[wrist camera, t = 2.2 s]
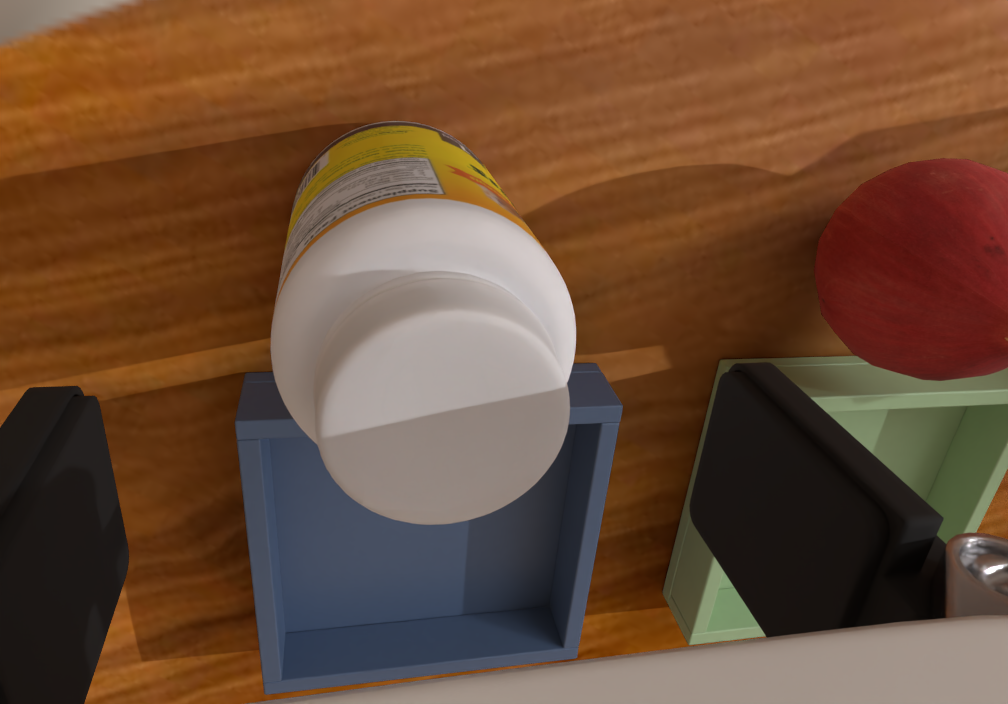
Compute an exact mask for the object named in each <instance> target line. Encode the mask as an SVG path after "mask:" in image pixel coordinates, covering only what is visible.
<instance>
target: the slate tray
mask: <svg viewBox="0 0 1008 704" xmlns="http://www.w3.org/2000/svg"><path fill="white" fill-rule="evenodd" d="M567 386H568V391H569V398H570V417H569V424H568V429H567V433H566V436H565V439H564V442H563V444H562V447H561V449H560V451H559V453H558V455H557V457H556V459H555V460H554V462H553V463H552V464H551V466H550V467H549V469H548V470H547V471H546V473H545V474H544V475H543V476H542V477H541V478H540V480H539V481H538V482H537V483H536V484H535V485H534V486H532V487H531V488H530V489H529V490H528V491H527V492H525V493H524V494H523V495H521V496H520V497H518V498H517V499H516V500H514V501H512V502H511V503H509V504H507V505H506V506H504V507H502V508H500V509H498V510H496V511H494V512H492V513H489V514H487V515H484V516H481V517H477V518H474V519H471V520H467V521H462V522H456V523H451V524H435V525H423V524H413V523H408V522H403V521H398V520H393V519H390V518H388V517H385V516H382V515H379V514H377V513H375V512H372V511H371V510H369V509H367V508H366V507H364V506H362V505H361V504H359V503H358V502H356V501H354V500H353V499H352V498H351V497H350V496H348V495H347V494H346V493H345V492H344V491H343V490H342V489H341V487H340V486H339V485H338V484H337V483H336V482H335V481H334V479H333V478H332V477H331V475H330V473H329V471H328V470H327V469H326V467H325V464H324V461H323V460H322V458H321V455H320V451H319V448H318V445H317V444H316V443H315V442H314V441H313V440H312V439H311V438H310V437H309V436H308V435H307V434H306V433H305V432H304V431H303V430H302V429H301V428H300V427H299V425H298V424H297V423H296V421H295V420H294V419H293V417H292V416H291V414H290V413H289V411H288V409H287V407H286V406H285V404H284V402H283V400H282V397H281V395H280V393H279V390H278V387H277V384H276V381H275V377H274V373H273V372H258V373H246V374H245V376H244V381H243V385H242V390H241V395H240V399H239V404H238V409H237V414H236V418H235V430H236V438H237V448H238V457H239V467H240V476H241V485H242V494H243V503H244V513H245V522H246V531H247V540H248V549H249V558H250V568H251V577H252V586H253V595H254V604H255V614H256V623H257V632H258V641H259V650H260V660H261V669H262V678H263V686H264V693H265V694H266V695H267V694H276V693H284V692H293V691H301V690H310V689H318V688H327V687H335V686H344V685H353V684H361V683H370V682H378V681H387V680H395V679H404V678H412V677H421V676H429V675H438V674H447V673H455V672H464V671H472V670H481V669H489V668H498V667H506V666H515V665H524V664H532V663H541V662H549V661H558V660H566V659H575V658H577V653H578V646H579V642H580V636H581V631H582V625H583V620H584V615H585V609H586V604H587V598H588V593H589V587H590V582H591V576H592V571H593V565H594V560H595V554H596V549H597V543H598V538H599V533H600V527H601V522H602V516H603V511H604V505H605V500H606V494H607V489H608V483H609V478H610V472H611V467H612V462H613V456H614V451H615V445H616V440H617V434H618V429H619V422H620V420H621V414H622V409H623V405H622V403H621V402H620V400H619V399H618V397H617V395H616V394H615V392H614V391H613V389H612V388H611V386H610V384H609V383H608V381H607V380H606V378H605V376H604V375H603V373H602V372H601V370H600V369H599V367H598V366H597V364H596V363H579V364H573V366H572V370H571V373H570V376H569V380H568V382H567Z"/></svg>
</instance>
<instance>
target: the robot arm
mask: <svg viewBox="0 0 1008 704" xmlns="http://www.w3.org/2000/svg"><path fill="white" fill-rule="evenodd" d="M689 507H690V517H691V520H692V523H693V525H694V526H695V528H696V529H697V531H698V533H699V534H700V536H701V537H702V539H703V540H704V542H705V543H706V545H707V546H708V548H709V549H710V551H711V552H712V554H713V556H714V557H715V559H716V560H717V562H718V563H719V565H720V566H721V568H722V569H723V571H724V572H725V574H726V576H727V577H728V579H729V580H730V582H731V583H732V585H733V586H734V588H735V589H736V591H737V592H738V594H739V595H740V597H741V599H742V600H743V602H744V603H745V605H746V606H747V608H748V609H749V611H750V612H751V614H752V615H753V617H754V619H755V620H756V622H757V623H758V625H759V626H760V628H761V629H762V631H763V632H764V634H765V635H766V637H767V638H759V639H750V640H742V641H734V642H725V643H717V644H709V645H700V646H692V647H684V648H675V649H667V650H659V651H651V652H643V653H635V654H627V655H619V656H611V657H603V658H595V659H587V660H579V661H571V662H563V663H555V664H547V665H539V666H531V667H523V668H515V669H507V670H500V671H492V672H484V673H476V674H468V675H460V676H452V677H444V678H437V679H429V680H421V681H414V682H406V683H399V684H391V685H384V686H376V687H368V688H361V689H353V690H346V691H338V692H330V693H323V694H315V695H308V696H300V697H292V698H285V699H277V700H270V701H262V702H255V703H247V704H1008V540H1007V539H1005V538H1001V537H997V536H993V535H989V534H984V533H970V532H969V533H963V534H958V535H955V536H954V537H953V538H951V539H950V540H948V542H947V544H946V543H945V542H944V541H943V540H941V539H940V538H939V537H938V536H937V533H938V531H939V528H940V526H941V524H942V522H943V519H944V518H943V517H942V516H941V515H940V514H939V513H938V512H937V511H936V510H934V509H933V508H932V507H931V506H930V505H929V504H928V503H927V502H926V501H924V500H923V499H922V498H921V497H920V496H919V495H918V494H917V493H916V492H914V491H913V490H912V489H911V488H910V487H909V486H908V485H907V484H906V483H904V482H903V481H902V480H901V479H900V478H899V477H898V476H897V475H896V474H894V473H893V472H892V471H891V470H890V469H889V468H888V467H887V466H886V465H884V464H883V463H882V462H881V461H880V460H879V459H878V458H877V457H876V456H874V455H873V454H872V453H871V452H870V451H869V450H868V449H867V448H866V447H864V446H863V445H862V444H861V443H860V442H859V441H858V440H857V439H856V438H855V437H853V436H852V435H851V434H850V433H849V432H848V431H847V430H846V429H845V428H843V427H842V426H841V425H840V424H839V423H838V422H837V421H836V420H835V419H833V418H832V417H831V416H830V415H829V414H828V413H827V412H826V411H825V410H823V409H822V408H821V407H820V406H819V405H818V404H817V403H816V402H815V401H813V400H812V399H811V398H810V397H809V396H808V395H807V394H806V393H805V392H803V391H802V390H801V389H800V388H799V387H798V386H797V385H796V384H795V383H793V382H792V381H791V380H790V379H789V378H788V377H787V376H786V375H785V374H783V373H782V372H781V371H780V370H779V369H778V368H777V367H776V366H775V365H773V364H771V363H770V362H760V363H736V364H734V365H732V367H731V368H730V369H729V372H725V373H724V374H722V376H721V377H720V380H719V383H718V387H717V391H716V395H715V399H714V404H713V408H712V412H711V416H710V420H709V424H708V429H707V433H706V437H705V441H704V445H703V449H702V453H701V458H700V462H699V466H698V470H697V474H696V478H695V483H694V487H693V491H692V495H691V499H690V505H689ZM128 563H129V550H128V543H127V538H126V533H125V528H124V523H123V519H122V514H121V509H120V504H119V499H118V494H117V489H116V484H115V479H114V474H113V469H112V464H111V459H110V454H109V449H108V444H107V439H106V434H105V429H104V424H103V419H102V414H101V409H100V405H99V402H98V400H97V398H96V397H95V396H84V394H83V392H82V390H81V388H79V387H78V386H62V387H33V388H29V389H28V390H27V391H26V392H25V393H24V395H23V396H22V398H21V399H20V400H19V402H18V403H17V405H16V406H15V408H14V409H13V410H12V412H11V413H10V415H9V416H8V417H7V419H6V420H5V422H4V423H3V425H2V426H1V427H0V704H84V702H85V699H86V696H87V693H88V690H89V687H90V684H91V681H92V678H93V675H94V672H95V669H96V666H97V663H98V660H99V657H100V654H101V651H102V648H103V644H104V641H105V638H106V635H107V632H108V629H109V626H110V623H111V620H112V617H113V614H114V611H115V608H116V605H117V602H118V599H119V596H120V593H121V590H122V587H123V584H124V581H125V578H126V574H127V570H128Z"/></svg>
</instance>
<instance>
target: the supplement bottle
mask: <svg viewBox="0 0 1008 704" xmlns="http://www.w3.org/2000/svg"><path fill="white" fill-rule="evenodd" d="M575 349H576V322H575V314H574V310H573V305H572V301H571V298H570V295H569V292H568V290H567V287H566V284H565V282H564V280H563V278H562V276H561V275H560V273H559V271H558V269H557V267H556V266H555V264H554V263H553V261H552V260H551V258H550V257H549V255H548V254H547V252H546V251H545V249H544V248H543V247H542V245H541V244H540V242H539V241H538V240H537V238H536V237H535V236H534V234H533V233H532V231H531V230H530V228H529V227H528V226H527V224H526V223H525V222H524V220H523V219H522V217H521V216H520V215H519V213H518V212H517V210H516V209H515V207H514V206H513V204H512V203H511V202H510V200H509V199H508V198H507V196H506V195H505V194H504V192H503V191H502V190H501V188H500V187H499V185H498V184H497V183H496V181H495V180H494V178H493V177H492V176H491V174H490V173H489V171H488V170H487V169H486V167H485V166H484V165H483V164H482V162H481V161H480V160H479V159H478V158H477V157H476V156H475V155H474V154H473V152H472V151H471V150H469V149H468V148H467V147H466V146H465V145H463V144H462V143H461V142H460V141H458V140H457V139H455V138H454V137H452V136H450V135H449V134H447V133H445V132H443V131H441V130H438V129H436V128H433V127H431V126H427V125H423V124H420V123H414V122H406V121H386V122H379V123H374V124H369V125H366V126H363V127H360V128H357V129H355V130H352V131H350V132H348V133H346V134H344V135H343V136H341V137H339V138H338V139H336V140H335V141H333V142H332V143H331V144H329V145H328V146H327V147H326V148H325V149H324V150H323V151H322V152H321V153H320V154H319V155H318V156H317V157H316V158H315V159H314V161H313V162H312V163H311V165H310V166H309V168H308V169H307V171H306V172H305V174H304V176H303V178H302V180H301V182H300V184H299V187H298V189H297V192H296V196H295V200H294V203H293V208H292V213H291V218H290V223H289V229H288V234H287V240H286V245H285V251H284V256H283V262H282V267H281V274H280V280H279V285H278V291H277V297H276V302H275V308H274V313H273V320H272V330H271V359H272V367H273V373H274V377H275V381H276V384H277V387H278V390H279V393H280V395H281V397H282V400H283V402H284V404H285V406H286V407H287V409H288V411H289V413H290V414H291V416H292V417H293V419H294V420H295V421H296V423H297V424H298V425H299V427H300V428H301V429H302V430H303V431H304V432H305V433H306V434H307V435H308V436H309V437H310V438H311V439H312V440H313V441H314V442H315V443H316V444H317V445H318V448H319V451H320V455H321V458H322V460H323V461H324V464H325V467H326V469H327V470H328V471H329V473H330V475H331V477H332V478H333V479H334V481H335V482H336V483H337V484H338V485H339V486H340V487H341V489H342V490H343V491H344V492H345V493H346V494H347V495H348V496H350V497H351V498H352V499H353V500H354V501H356V502H358V503H359V504H361V505H362V506H364V507H366V508H367V509H369V510H371V511H372V512H375V513H377V514H379V515H382V516H385V517H388V518H390V519H393V520H398V521H403V522H408V523H413V524H423V525H435V524H451V523H456V522H462V521H467V520H471V519H474V518H477V517H481V516H484V515H487V514H489V513H492V512H494V511H496V510H498V509H500V508H502V507H504V506H506V505H507V504H509V503H511V502H512V501H514V500H516V499H517V498H518V497H520V496H521V495H523V494H524V493H525V492H527V491H528V490H529V489H530V488H531V487H532V486H534V485H535V484H536V483H537V482H538V481H539V480H540V478H541V477H542V476H543V475H544V474H545V473H546V471H547V470H548V469H549V467H550V466H551V464H552V463H553V462H554V460H555V459H556V457H557V455H558V453H559V451H560V449H561V447H562V444H563V442H564V439H565V436H566V433H567V429H568V424H569V417H570V398H569V391H568V386H567V382H568V380H569V376H570V373H571V370H572V366H573V362H574V356H575Z"/></svg>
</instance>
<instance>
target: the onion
mask: <svg viewBox="0 0 1008 704" xmlns="http://www.w3.org/2000/svg"><path fill="white" fill-rule="evenodd" d="M814 274H815V280H816V285H817V291H818V297H819V303H820V308H821V314H822V316H823V317H824V319H825V320H826V321H827V323H828V324H829V325H830V327H831V328H832V329H833V331H834V332H835V333H836V334H837V335H838V337H839V338H840V339H841V340H842V341H843V342H844V344H845V345H846V346H847V347H848V348H849V349H850V350H851V352H852V353H853V354H855V355H856V356H858V357H860V358H861V359H863V360H864V361H866V362H868V363H869V364H871V365H872V366H876V367H879V368H882V369H886V370H889V371H893V372H896V373H900V374H903V375H907V376H910V377H914V378H918V379H921V380H932V381H945V380H953V379H961V378H970V377H978V376H985V375H989V374H992V373H996V372H999V371H1001V370H1004V369H1006V368H1008V173H1006V172H1003V171H1000V170H997V169H995V168H992V167H989V166H986V165H983V164H980V163H977V162H974V161H971V160H968V159H946V158H941V159H933V160H925V161H917V162H909V163H906V164H903V165H901V166H898V167H895V168H892V169H890V170H888V171H886V172H884V173H882V174H880V175H878V176H876V177H875V178H873V179H871V180H869V181H867V182H865V183H863V184H861V185H860V186H859V187H858V188H857V189H856V190H855V191H854V192H853V193H852V194H851V195H850V196H849V197H848V198H847V199H846V200H845V201H844V202H843V203H842V204H841V205H840V206H839V207H838V208H837V209H836V210H835V212H834V214H833V216H832V217H831V219H830V221H829V223H828V225H827V226H826V228H825V230H824V232H823V233H822V235H821V237H820V239H819V242H818V248H817V254H816V260H815V266H814Z"/></svg>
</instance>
